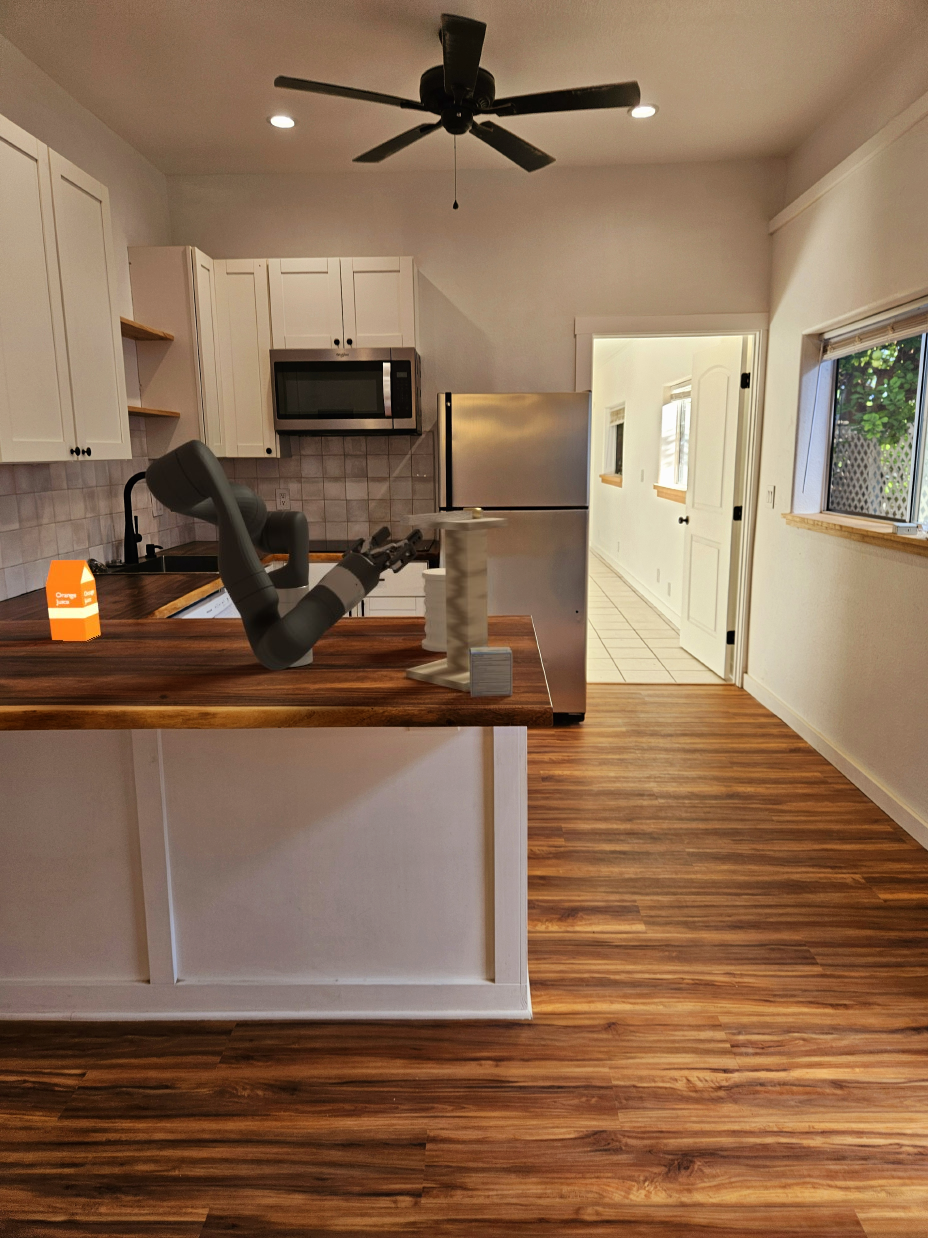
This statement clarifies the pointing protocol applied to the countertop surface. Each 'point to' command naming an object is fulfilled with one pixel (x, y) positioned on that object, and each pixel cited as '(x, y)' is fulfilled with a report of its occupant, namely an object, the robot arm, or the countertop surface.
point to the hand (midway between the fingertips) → (403, 531)
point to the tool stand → (462, 600)
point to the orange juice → (72, 601)
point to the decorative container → (435, 610)
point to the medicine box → (490, 671)
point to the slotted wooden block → (442, 516)
